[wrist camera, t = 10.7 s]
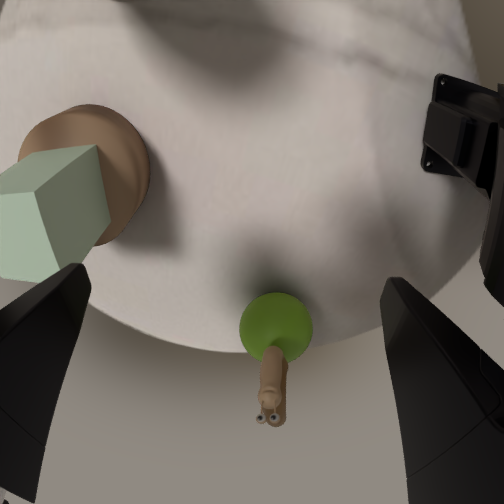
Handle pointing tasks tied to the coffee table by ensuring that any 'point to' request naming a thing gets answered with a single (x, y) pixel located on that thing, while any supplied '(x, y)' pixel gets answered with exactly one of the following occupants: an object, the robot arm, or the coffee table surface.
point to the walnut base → (100, 156)
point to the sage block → (50, 212)
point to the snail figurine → (275, 347)
